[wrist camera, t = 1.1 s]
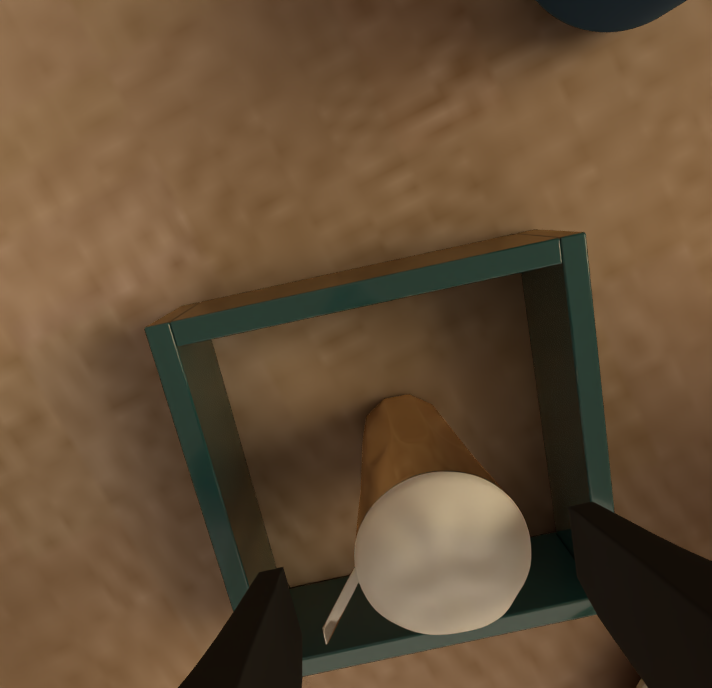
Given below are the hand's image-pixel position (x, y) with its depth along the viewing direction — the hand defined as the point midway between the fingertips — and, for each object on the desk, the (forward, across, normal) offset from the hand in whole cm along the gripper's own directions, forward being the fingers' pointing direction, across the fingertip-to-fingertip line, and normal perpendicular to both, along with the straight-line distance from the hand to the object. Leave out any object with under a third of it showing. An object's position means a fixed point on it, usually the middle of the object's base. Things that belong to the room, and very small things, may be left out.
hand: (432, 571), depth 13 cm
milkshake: (+9, 0, 0) cm, 9 cm away
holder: (+9, 0, 0) cm, 9 cm away
